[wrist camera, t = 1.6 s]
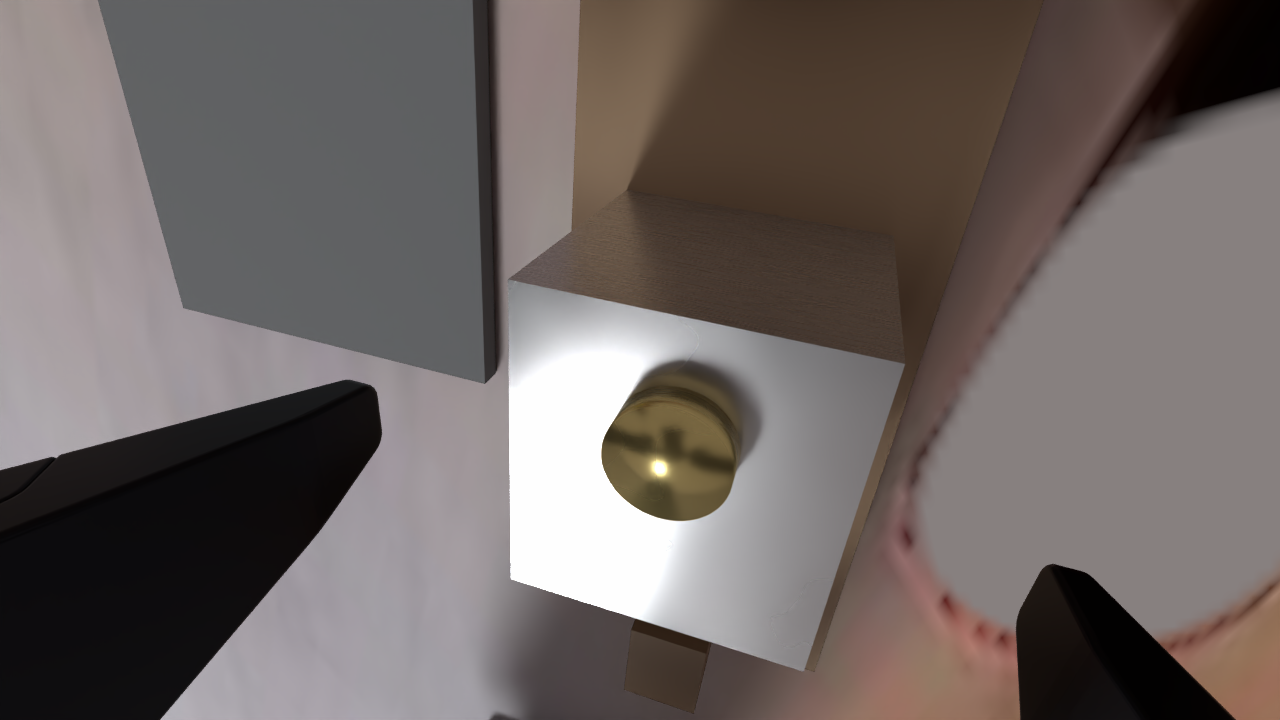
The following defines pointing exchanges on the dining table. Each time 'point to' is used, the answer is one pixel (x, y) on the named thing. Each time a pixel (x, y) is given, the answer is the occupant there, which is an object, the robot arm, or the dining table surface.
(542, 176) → the dining table surface
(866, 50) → the plane body
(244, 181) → the mat
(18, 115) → the dining table surface
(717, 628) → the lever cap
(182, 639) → the robot arm
